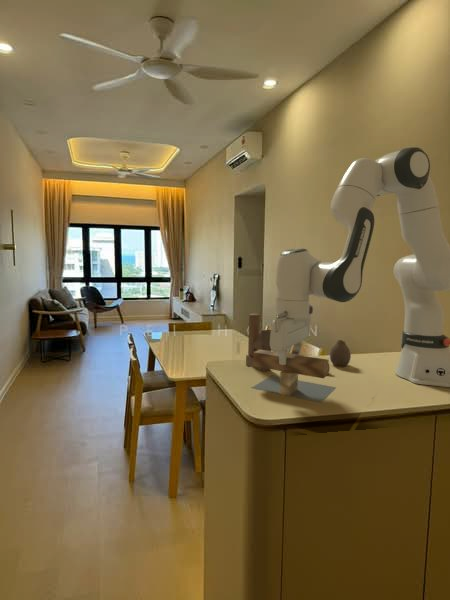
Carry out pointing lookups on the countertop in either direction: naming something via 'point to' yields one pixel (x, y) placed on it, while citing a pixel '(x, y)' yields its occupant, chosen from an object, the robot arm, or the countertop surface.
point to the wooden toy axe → (257, 340)
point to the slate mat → (304, 389)
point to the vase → (340, 354)
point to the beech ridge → (288, 383)
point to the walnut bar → (292, 363)
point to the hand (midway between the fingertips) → (289, 360)
